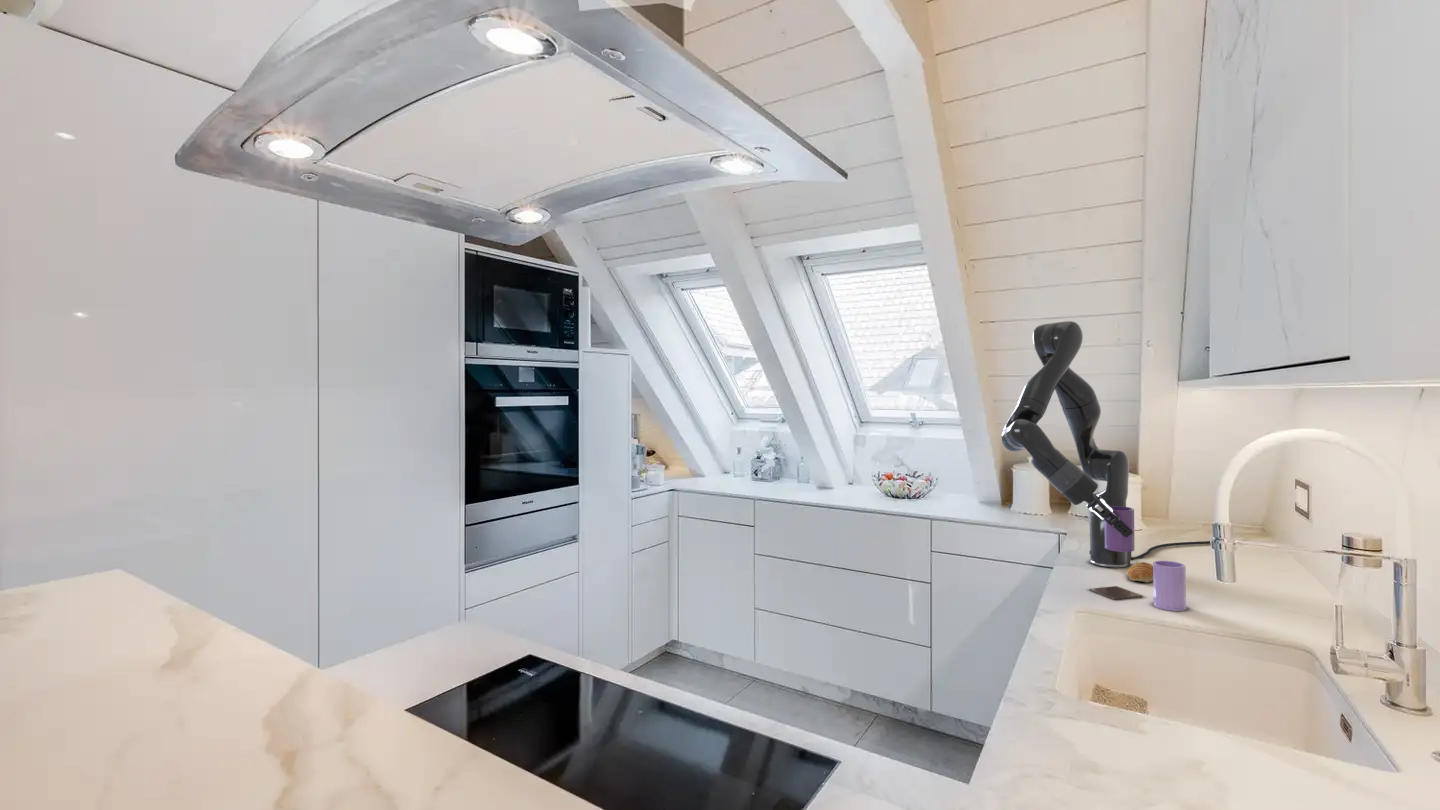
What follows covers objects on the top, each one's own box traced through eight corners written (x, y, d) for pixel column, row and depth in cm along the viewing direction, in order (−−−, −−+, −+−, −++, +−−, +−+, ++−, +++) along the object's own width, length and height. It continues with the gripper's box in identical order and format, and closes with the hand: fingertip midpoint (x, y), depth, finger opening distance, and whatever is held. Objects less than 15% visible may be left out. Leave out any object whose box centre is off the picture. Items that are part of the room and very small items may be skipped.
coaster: (1116, 587, 166) (1116, 586, 166) (1142, 597, 158) (1142, 595, 158) (1089, 590, 165) (1089, 588, 165) (1114, 599, 157) (1114, 598, 157)
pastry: (1154, 585, 167) (1153, 571, 167) (1123, 581, 171) (1123, 567, 171) (1159, 577, 174) (1159, 563, 174) (1130, 573, 179) (1129, 559, 179)
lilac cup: (1169, 601, 155) (1168, 559, 155) (1192, 609, 149) (1192, 566, 149) (1147, 603, 154) (1146, 561, 153) (1170, 612, 147) (1169, 568, 147)
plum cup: (1120, 545, 162) (1119, 505, 162) (1140, 550, 156) (1140, 509, 156) (1098, 546, 161) (1098, 506, 161) (1118, 552, 155) (1118, 511, 155)
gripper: (1086, 475, 155) (1145, 527, 150) (1080, 468, 168) (1134, 516, 163) (1061, 496, 157) (1119, 548, 153) (1057, 487, 170) (1110, 535, 166)
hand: (1127, 531), depth 158 cm, fingers closed on plum cup, 6 cm apart
